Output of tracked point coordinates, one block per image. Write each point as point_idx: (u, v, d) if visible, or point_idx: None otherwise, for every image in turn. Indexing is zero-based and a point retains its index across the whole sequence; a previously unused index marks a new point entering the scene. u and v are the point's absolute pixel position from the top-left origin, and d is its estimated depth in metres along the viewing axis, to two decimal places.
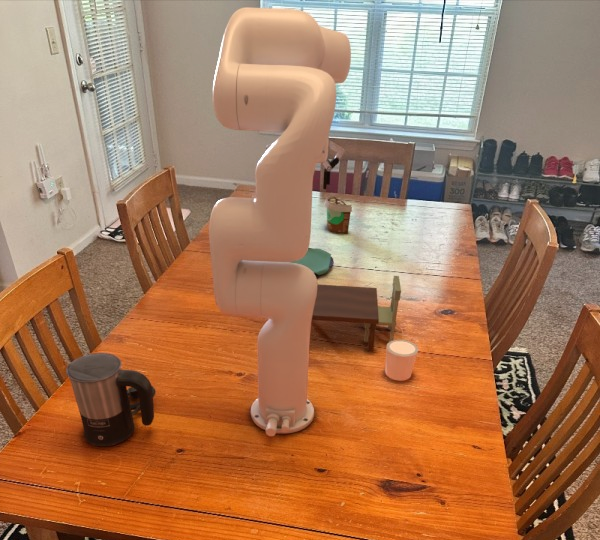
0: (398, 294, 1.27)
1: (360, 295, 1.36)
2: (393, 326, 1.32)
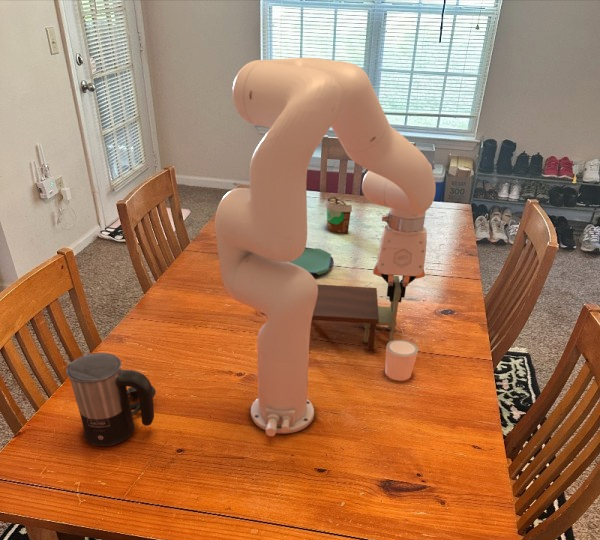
0: (398, 294, 1.27)
1: (360, 295, 1.36)
2: (393, 326, 1.32)
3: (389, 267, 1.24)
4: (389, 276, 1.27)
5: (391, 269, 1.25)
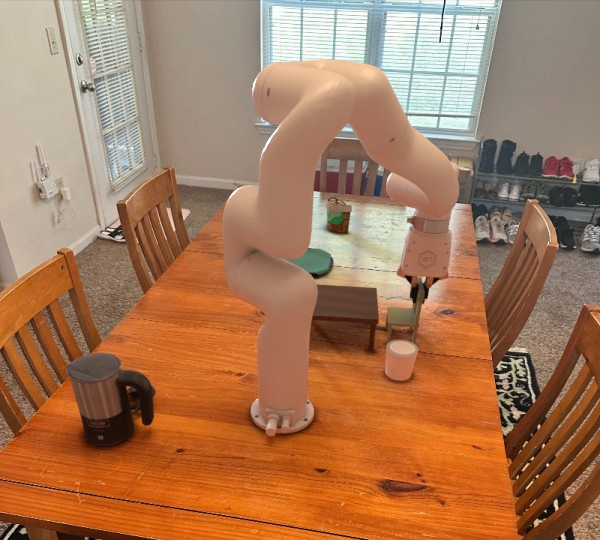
0: (422, 295, 1.27)
1: (360, 295, 1.36)
2: (416, 327, 1.32)
3: (413, 268, 1.24)
4: (413, 277, 1.27)
5: (415, 270, 1.24)
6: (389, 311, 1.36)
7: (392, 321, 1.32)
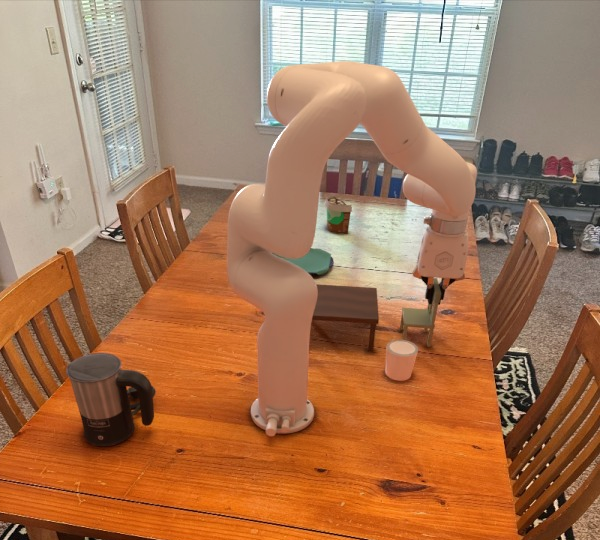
0: (438, 296, 1.26)
1: (360, 295, 1.36)
2: (431, 328, 1.31)
3: (430, 269, 1.24)
4: (429, 278, 1.27)
5: (432, 271, 1.24)
6: (404, 312, 1.36)
7: (408, 322, 1.32)
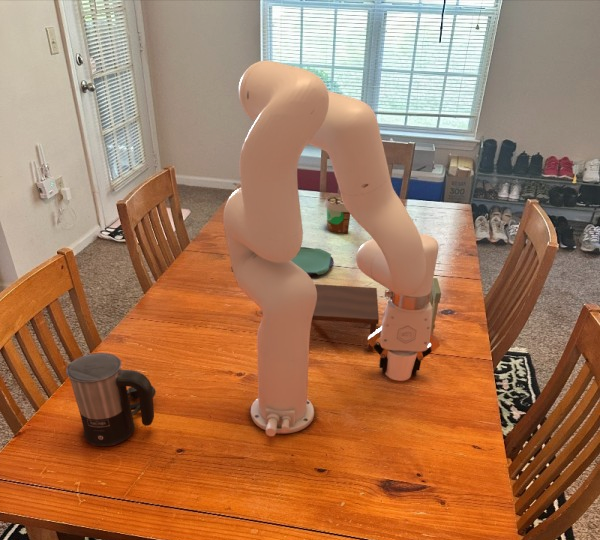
0: (438, 296, 1.26)
1: (360, 295, 1.36)
2: (432, 328, 1.31)
3: (392, 343, 1.17)
4: (385, 349, 1.20)
5: (394, 345, 1.18)
6: None
7: None
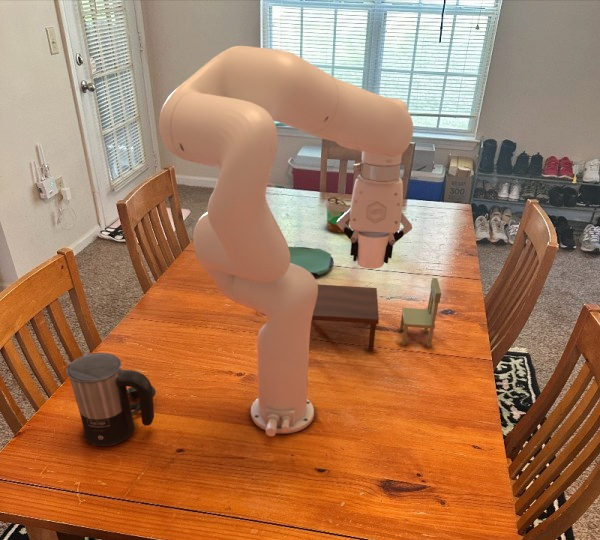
0: (438, 296, 1.26)
1: (360, 295, 1.36)
2: (432, 328, 1.31)
3: (362, 223, 1.12)
4: (355, 231, 1.15)
5: (364, 225, 1.13)
6: (404, 312, 1.36)
7: (408, 322, 1.32)
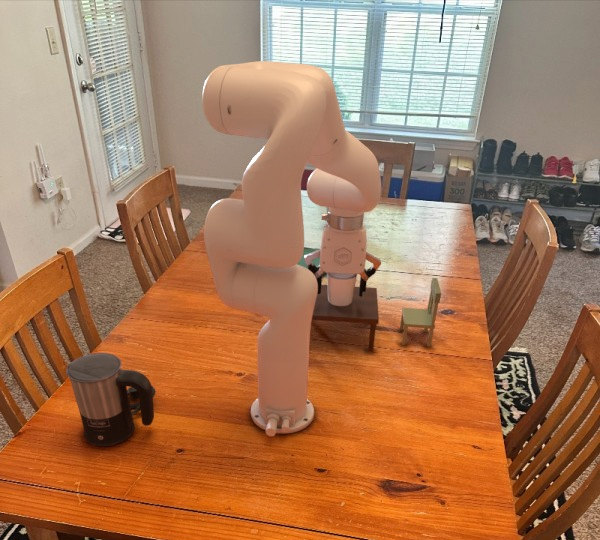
0: (438, 296, 1.26)
1: None
2: (432, 328, 1.31)
3: (330, 265, 1.25)
4: None
5: (332, 267, 1.25)
6: (404, 312, 1.36)
7: (408, 322, 1.32)
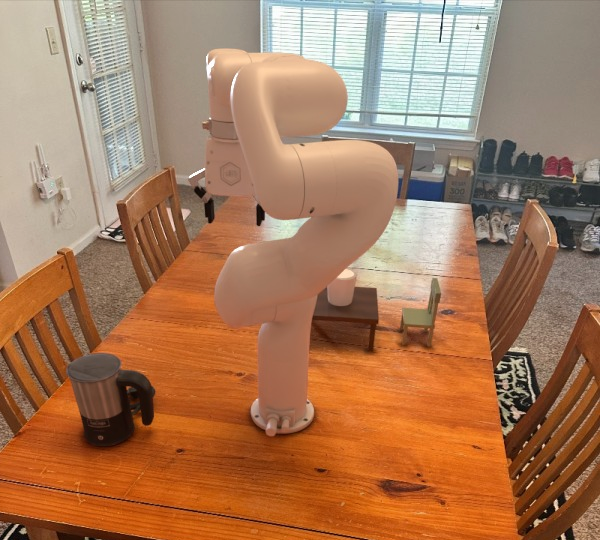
0: (438, 296, 1.26)
1: (360, 295, 1.36)
2: (432, 328, 1.31)
3: (217, 186, 1.06)
4: None
5: (220, 188, 1.06)
6: (404, 312, 1.36)
7: (408, 322, 1.32)
